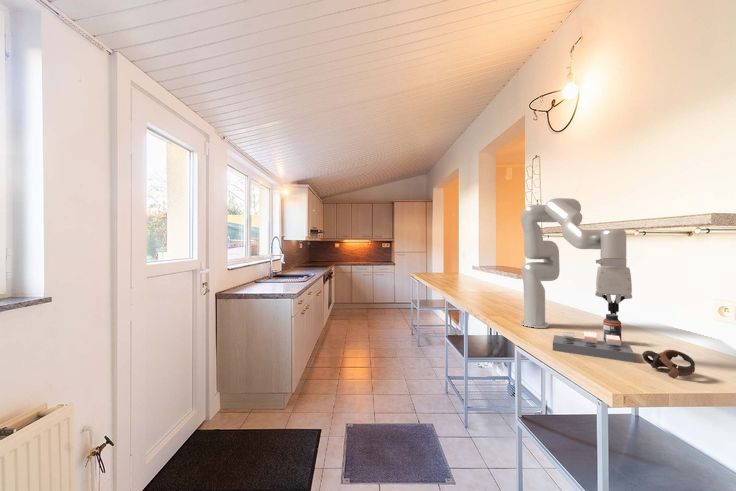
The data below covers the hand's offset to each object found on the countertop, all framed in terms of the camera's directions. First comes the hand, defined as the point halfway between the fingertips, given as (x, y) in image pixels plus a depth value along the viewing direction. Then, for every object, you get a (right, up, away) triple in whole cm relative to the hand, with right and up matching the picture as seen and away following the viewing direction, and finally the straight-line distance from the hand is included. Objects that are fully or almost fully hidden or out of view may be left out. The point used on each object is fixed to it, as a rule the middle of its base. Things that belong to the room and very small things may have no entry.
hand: (613, 313), depth 117 cm
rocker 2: (+1, -11, +2) cm, 12 cm away
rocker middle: (-5, -12, +6) cm, 14 cm away
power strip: (-6, -15, +3) cm, 16 cm away
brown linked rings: (+4, -15, -17) cm, 23 cm away
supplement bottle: (+11, -15, +15) cm, 24 cm away
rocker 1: (-11, -12, +9) cm, 18 cm away
